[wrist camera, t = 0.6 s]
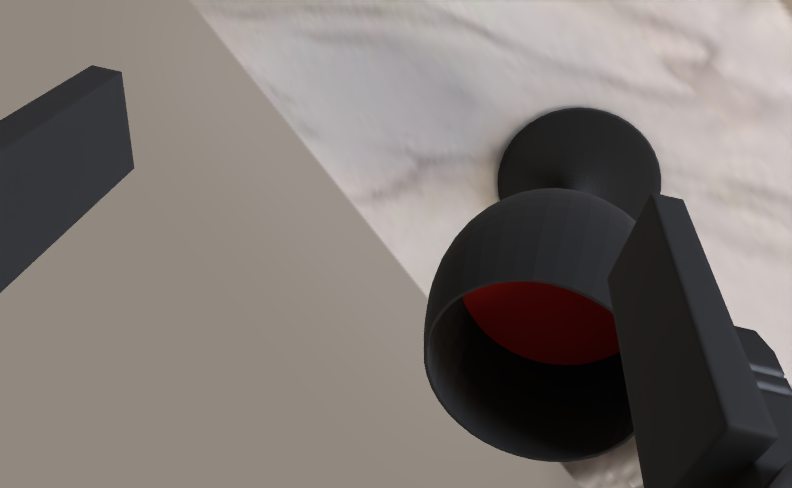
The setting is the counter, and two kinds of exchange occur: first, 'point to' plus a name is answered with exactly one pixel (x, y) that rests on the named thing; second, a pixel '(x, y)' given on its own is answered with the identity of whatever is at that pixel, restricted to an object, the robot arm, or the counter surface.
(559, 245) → the wine glass
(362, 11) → the counter surface
